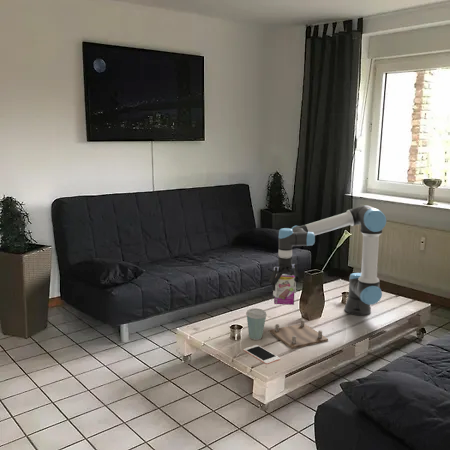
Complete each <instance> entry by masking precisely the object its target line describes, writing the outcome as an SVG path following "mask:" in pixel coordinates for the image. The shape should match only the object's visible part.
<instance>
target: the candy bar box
mask: <svg viewBox="0 0 450 450" xmlns="http://www.w3.org/2000/svg"><path fill="white" fill-rule="evenodd" d="M276 275H277V274H276ZM275 278H276V277H275ZM276 285H277V297H275V296H273V302H274V303H273V304H274V305H290V306H294V305H295V293H294V290H295V274H294V275H290V274H289V273H285V274H282V275H281V277H280V278H279V280H278V282H277V283H276Z"/></svg>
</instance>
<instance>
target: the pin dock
mask: <svg viewBox="0 0 450 450" xmlns="http://www.w3.org/2000/svg"><path fill="white" fill-rule="evenodd" d="M269 333H270V334H272V336H274V337H275V338H277V339H278V340H279V341H281V342H282V343H283V344H285V345H286V346H287V347H288V348H290V349H292V350H293V349H297V348H302V347H307V346H312V345H315V344H316V345H317V344H321V343H326V342H329V338H328V337H326V336H324V335H323V331H322V330H318V331H316V330H315V329H314V328H312V327H310V326H309V325H307V324H306V323H305V319H300V323H299V324H294V325H288V326H283V327H280V324H278V323H276V324H275V328H273V329H270V330H269Z"/></svg>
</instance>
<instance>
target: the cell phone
mask: <svg viewBox="0 0 450 450" xmlns="http://www.w3.org/2000/svg"><path fill="white" fill-rule="evenodd" d="M243 351H244V352H246V353H247V354H249V355H251V356H252V357H254V358H256V359H257V360H258V361H260V362H262V363H263V364H265V365H268V364H272V363H275V362H277V361H280V360H281V357H279V356H278V355H276V354H274V353H273V352H271V351H269V350H267V349H265V348H263V347H262V346H260V345H258V344H254V345H251V346H249V347H248V346H247V347H245V348H243Z"/></svg>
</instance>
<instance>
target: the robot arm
mask: <svg viewBox="0 0 450 450" xmlns="http://www.w3.org/2000/svg"><path fill="white" fill-rule="evenodd" d="M386 224H387V217H386V215H385V214H384V213H383V212H382V211H381V210H380V209H379V208H375V207H373V206H371V205H367V204H365V205H360V206H356V207H353V208H350V209H347V210H346V212H342V213H339V214H335V215H333V216H330V217H326V218H323V219H320V220H317V221H313V222H310V223H307V224H302V225H294V226H292V227H291V228H289V227H284V228H280V229H279V230H278V236H277V237H278V252H277V253H278V254H277V255H278V257H277V259H278V261H277V263H278V265H277V266H274V265H273V267H272V272H271V275H270V278H269V281H268V284H269V285H271V290H272V291H273V292H272V296H273V297H274V296H275V297H277V285H276V283H277V282H278V280H279V278H280V277H281V275H282V274H290V275H295V290H294V294H296V292H297V290H296V289H297V287H298V282H299V281H300V280H301V276H300V274H299V271H298V269H297V266H298V265H297V264H295V263H293V247H302V246H303V247H305V246H306V247H308V246H309V247H310V246H313V245H315V242H316V236H317V235H321V234H324V233H328V232H331V231H335V230H337V229H342V228H345V227H349V226H351V227H354V226H360V233H361V234H362V246H361V247H362V249H361V250H362V251H361V271H360V272H353V273H350V275H349V279H348V280H349V281H348V283H349V284H348V297H347V300H346V302H345V304H344V311H345V312H347V313H348V314H350V315H355V316H367V315H370V314H371V313H372V311H371V310H372V308H371V305H375V304H377V303H378V302H380V300H381V299H382V297H383V293H382V289H381V287H380V278H379V277H378V261H379V244H380V236H381V235H382V234H383V230H384V228H385V227H386ZM276 274H277V275H276ZM275 277H276V278H275Z"/></svg>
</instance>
